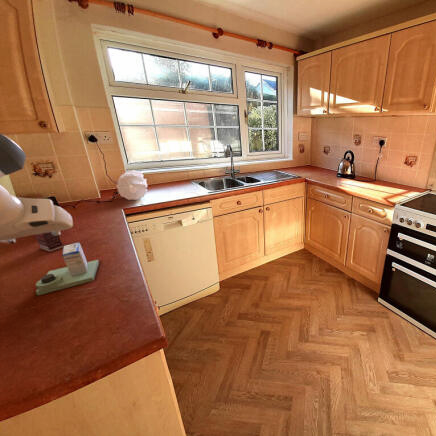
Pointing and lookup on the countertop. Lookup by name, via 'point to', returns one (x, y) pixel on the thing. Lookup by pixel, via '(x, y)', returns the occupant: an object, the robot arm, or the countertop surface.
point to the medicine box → (75, 259)
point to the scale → (67, 278)
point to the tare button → (47, 278)
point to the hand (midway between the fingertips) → (35, 237)
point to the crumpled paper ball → (132, 185)
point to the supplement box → (49, 241)
